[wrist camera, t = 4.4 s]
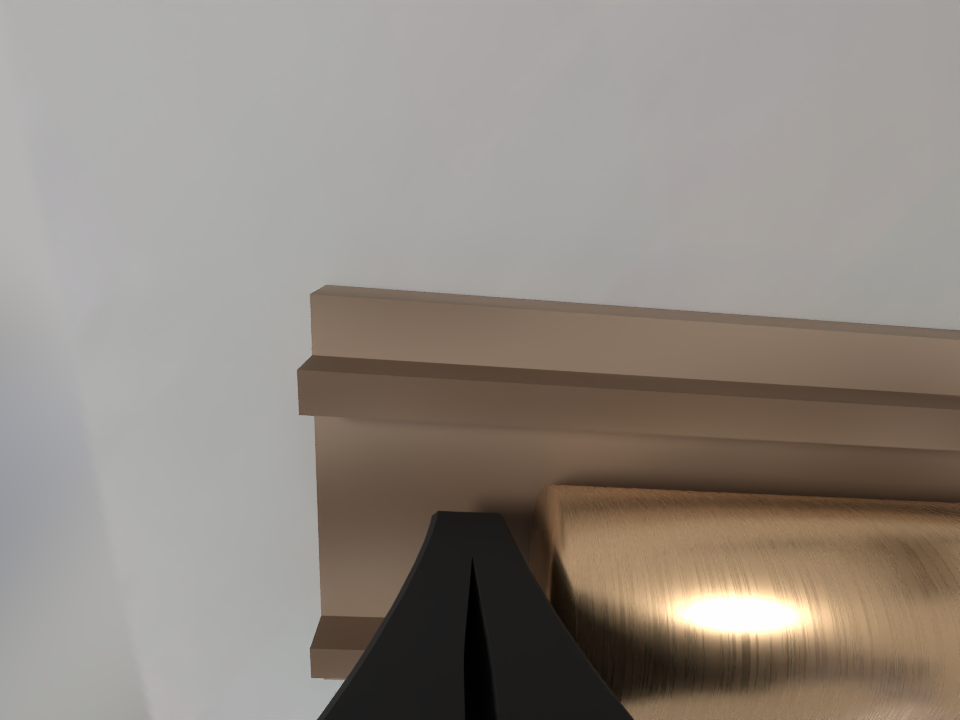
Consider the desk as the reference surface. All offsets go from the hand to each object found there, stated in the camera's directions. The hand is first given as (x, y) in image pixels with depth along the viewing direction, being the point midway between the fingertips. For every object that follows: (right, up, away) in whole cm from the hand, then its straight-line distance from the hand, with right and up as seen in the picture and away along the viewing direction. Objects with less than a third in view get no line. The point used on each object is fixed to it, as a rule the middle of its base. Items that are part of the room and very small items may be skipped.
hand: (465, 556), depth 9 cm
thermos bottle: (+9, 0, +1) cm, 9 cm away
